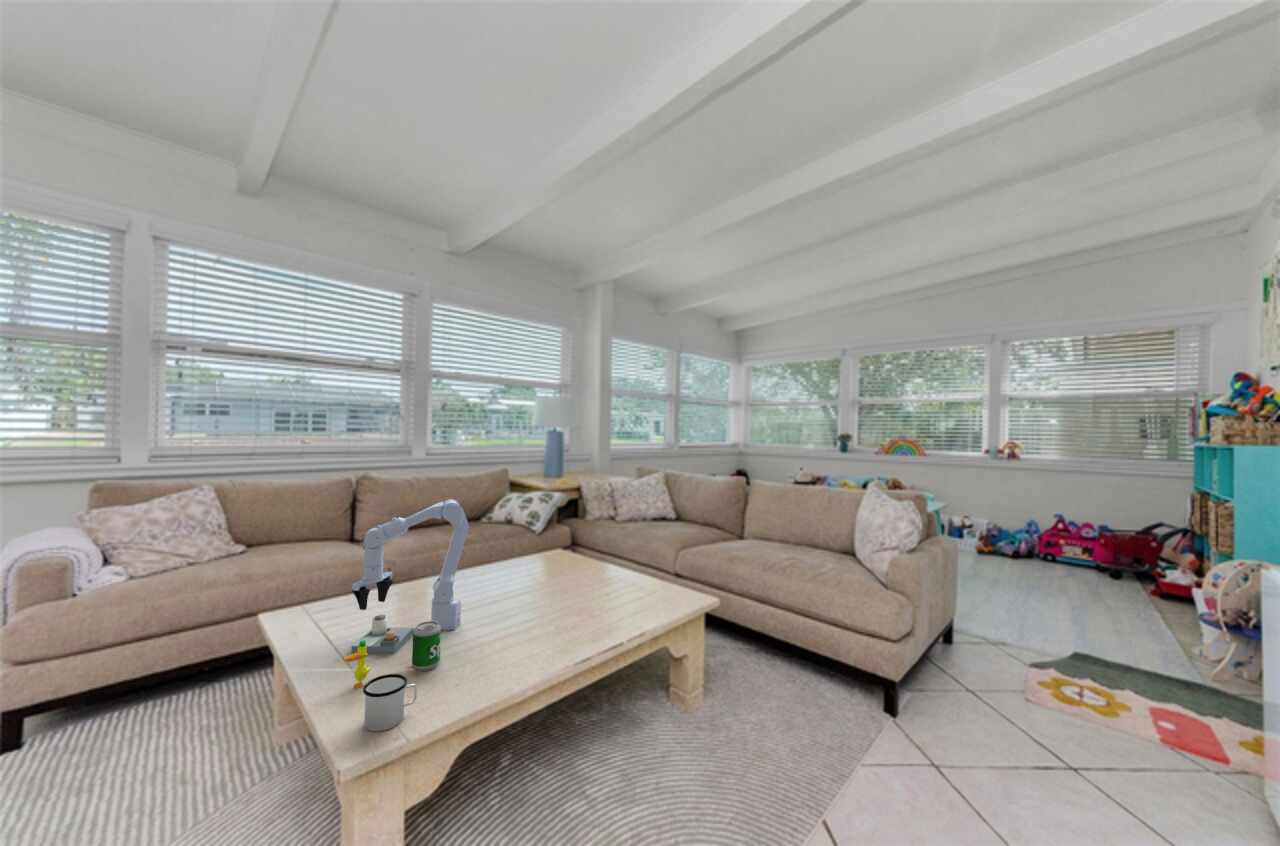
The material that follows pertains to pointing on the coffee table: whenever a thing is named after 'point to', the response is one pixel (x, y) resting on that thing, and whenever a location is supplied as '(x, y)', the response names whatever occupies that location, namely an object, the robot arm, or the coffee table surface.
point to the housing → (384, 641)
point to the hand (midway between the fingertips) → (372, 605)
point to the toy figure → (359, 663)
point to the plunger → (390, 635)
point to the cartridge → (379, 625)
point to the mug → (385, 701)
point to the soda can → (426, 646)
